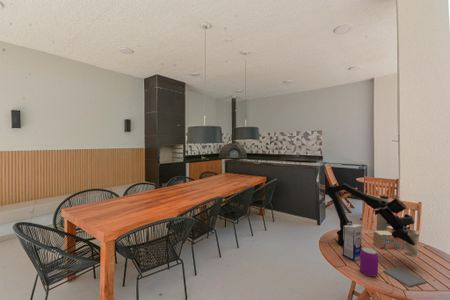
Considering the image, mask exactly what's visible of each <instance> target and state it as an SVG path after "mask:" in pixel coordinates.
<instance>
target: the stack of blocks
mask: <svg viewBox="0 0 450 300" xmlns="http://www.w3.org/2000/svg"><path fill="white" fill-rule="evenodd" d="M392 229H393V228H392V227H391V226H387V231H377V230H373V236H372V237H373V238H372V239H373V240H372V241H373V242H372V244H373V245H374V246H376V247H377V248H378V249H379V250H380V249H381V250H383V249H386V250H387V249H388V250H389V249H391V250H392V249H393V250H394V249H396V250H397V249H404V245H405V241H404V240H402V239H400V238H394V237H393V236H392V232H393V230H392ZM410 229H411V230H413V229H412V228H410Z"/></svg>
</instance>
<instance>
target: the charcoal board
mask: <svg viewBox="0 0 450 300" xmlns="http://www.w3.org/2000/svg"><path fill="white" fill-rule="evenodd" d="M382 272H383V273H384V274H386V275H387V276H389V277H391V278H392V279H394V280H396V281H397V282H399V283H401V284H403V285H404V286H406V287H407V288H412V287H417V286H420V285H423V284H427V283H428V281H427V280H426V279H424V278H422V277H419V276H418V275H416V274H414V273H412V271H411V272H410V271H409V270H407V269H405V268H403V267H402V266H396V267H391V268H388V269H384V270H382Z"/></svg>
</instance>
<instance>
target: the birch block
mask: <svg viewBox="0 0 450 300" xmlns="http://www.w3.org/2000/svg"><path fill="white" fill-rule="evenodd" d="M411 229H412V228H410V229H406V231H408V236H409V237H410V238H411V239H412V241H413V242H414V243H415V245H414V246H413V245H411V244H409V243H407V242H406V241H405V245H404V250H403V255H405V256H408V257H411V258H414V259H417V258H418V255H419V240H420V237H419V235H420V231H419V230H415V229H412V230H411Z"/></svg>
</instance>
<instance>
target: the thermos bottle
mask: <svg viewBox="0 0 450 300" xmlns="http://www.w3.org/2000/svg"><path fill="white" fill-rule="evenodd" d="M389 197H390V196H389ZM389 197H388V196H386V195H380V197H379V198H380V199H381V200H382V201H386V202H390V201H389ZM386 207H388V206H386ZM386 207H384V208H386ZM379 209H380V208H378V209H376V210H379ZM388 209H389V208H388ZM387 226H390V225H389V224H387V223H386V221H385V219H384V218H383V217H382V216H381V215H380V214H377V215H376V231H387Z"/></svg>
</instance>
